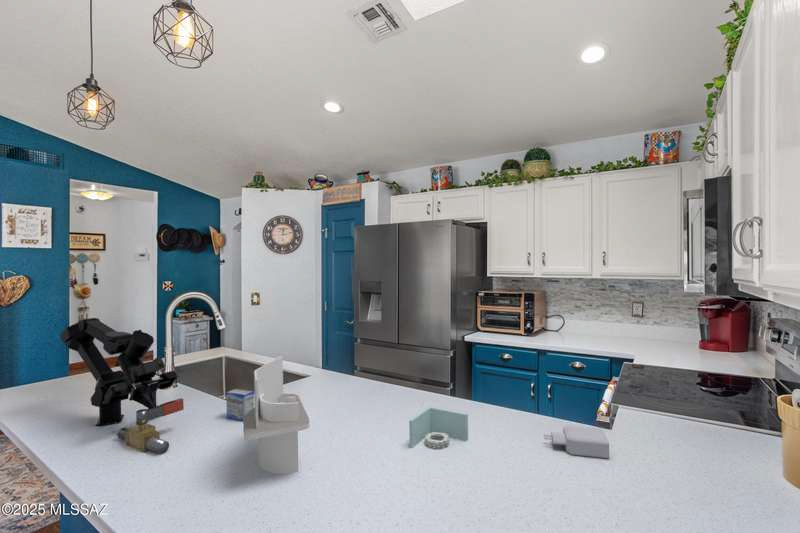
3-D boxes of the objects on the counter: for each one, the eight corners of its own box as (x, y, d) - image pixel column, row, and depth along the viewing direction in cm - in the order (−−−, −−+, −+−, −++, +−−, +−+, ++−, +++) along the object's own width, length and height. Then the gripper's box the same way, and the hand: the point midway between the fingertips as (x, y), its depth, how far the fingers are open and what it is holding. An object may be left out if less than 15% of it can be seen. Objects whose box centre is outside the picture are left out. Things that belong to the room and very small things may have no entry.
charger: (542, 438, 111) (601, 444, 107) (545, 453, 102) (609, 460, 98) (542, 421, 111) (601, 426, 107) (545, 435, 102) (609, 441, 98)
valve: (115, 441, 113) (115, 420, 113) (130, 435, 116) (130, 415, 116) (155, 456, 103) (155, 433, 103) (170, 450, 107) (170, 428, 107)
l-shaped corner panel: (409, 448, 106) (409, 420, 106) (429, 431, 117) (429, 406, 117) (450, 458, 100) (450, 429, 100) (468, 440, 110) (467, 413, 110)
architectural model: (330, 474, 93) (328, 375, 93) (232, 495, 85) (231, 387, 85) (310, 429, 119) (309, 352, 119) (234, 442, 111) (233, 359, 111)
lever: (134, 424, 109) (134, 411, 109) (179, 409, 120) (179, 397, 120) (139, 425, 108) (139, 413, 108) (184, 410, 119) (184, 398, 119)
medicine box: (226, 418, 128) (225, 392, 128) (236, 413, 132) (236, 388, 132) (245, 422, 125) (244, 394, 125) (255, 417, 130) (254, 390, 129)
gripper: (108, 357, 111) (130, 402, 105) (174, 345, 127) (196, 383, 122) (95, 382, 115) (115, 426, 109) (160, 367, 131) (181, 405, 126)
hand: (154, 409), depth 116 cm, fingers closed
